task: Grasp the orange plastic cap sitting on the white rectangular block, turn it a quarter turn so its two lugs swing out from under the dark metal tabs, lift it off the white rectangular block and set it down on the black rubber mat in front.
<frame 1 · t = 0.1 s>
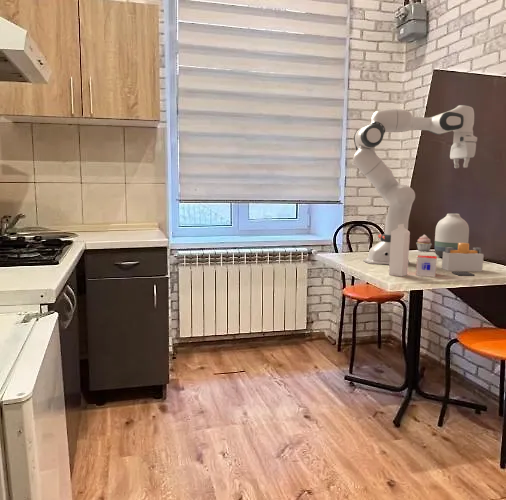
hand: (460, 167, 246), 48 cm above the table, tool pointing down, fingers open, 8 cm apart
white printed cube: (425, 275, 218), on the table
mat: (462, 274, 219), on the table
vase: (450, 258, 271), on the table
milk: (398, 275, 215), on the table
white rectangular block: (461, 269, 231), on the table
cap: (463, 252, 230), point 8 cm above the table, touching white rectangular block
cupcake: (423, 251, 299), on the table
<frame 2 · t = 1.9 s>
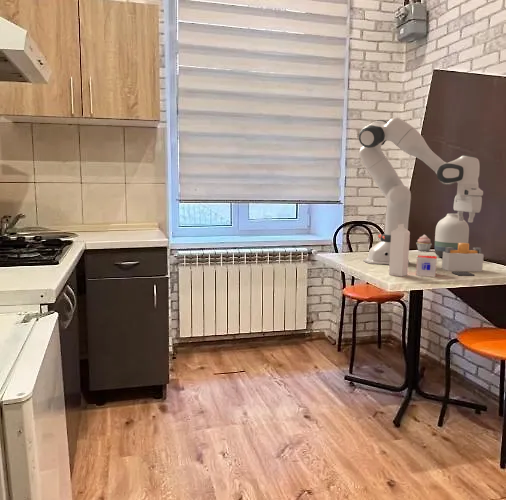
hand: (465, 221, 228), 23 cm above the table, tool pointing down, fingers open, 8 cm apart
nothing on the table moved.
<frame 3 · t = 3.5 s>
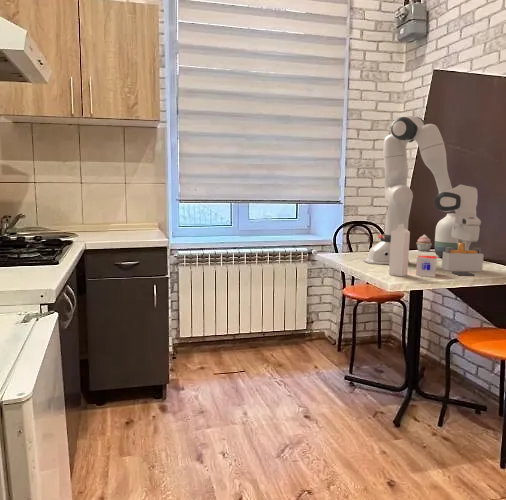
hand: (463, 249, 230), 10 cm above the table, tool pointing down, fingers closed on cap, 5 cm apart
cap: (463, 252, 230), point 8 cm above the table, touching gripper, white rectangular block
everything else where it was.
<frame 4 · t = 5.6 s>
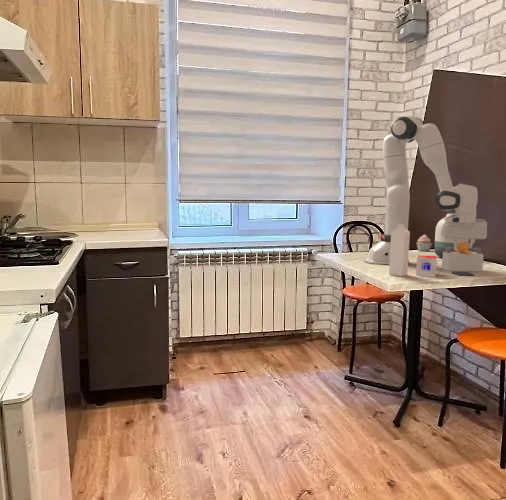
hand: (462, 248, 230), 10 cm above the table, tool pointing down, fingers closed on cap, 5 cm apart
cap: (462, 251, 230), point 8 cm above the table, touching gripper
everything else where it was.
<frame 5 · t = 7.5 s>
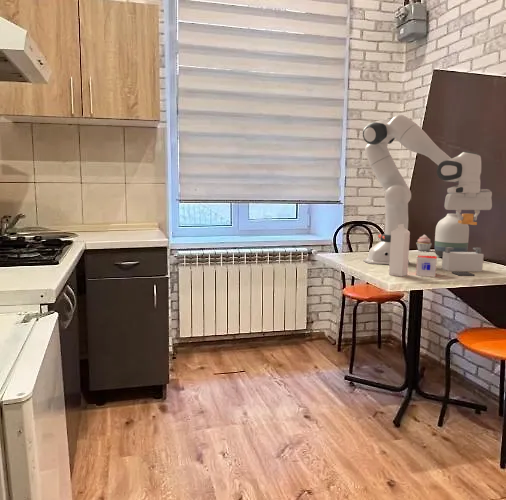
hand: (467, 220, 220), 24 cm above the table, tool pointing down, fingers closed on cap, 5 cm apart
cap: (467, 223, 221), point 22 cm above the table, touching gripper
everything else where it was.
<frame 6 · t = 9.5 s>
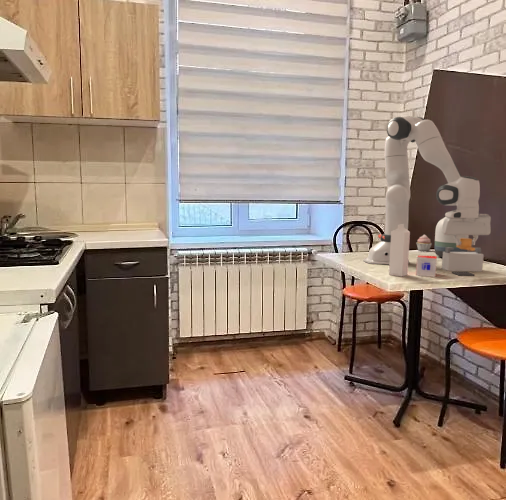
hand: (465, 245, 217), 13 cm above the table, tool pointing down, fingers closed on cap, 5 cm apart
cap: (465, 248, 218), point 11 cm above the table, touching gripper
everything else where it was.
when the fingers open (4 cm above the table, at t = 11.3 s): cap drops 1 cm, resting on mat.
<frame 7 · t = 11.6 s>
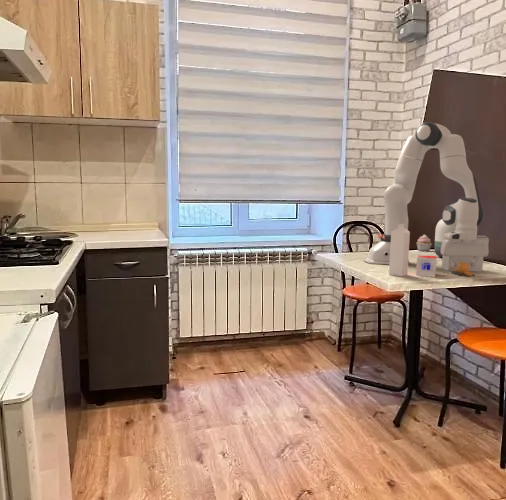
hand: (463, 266, 219), 4 cm above the table, tool pointing down, fingers open, 7 cm apart
cap: (463, 272, 219), point 1 cm above the table, touching mat
everything else where it was.
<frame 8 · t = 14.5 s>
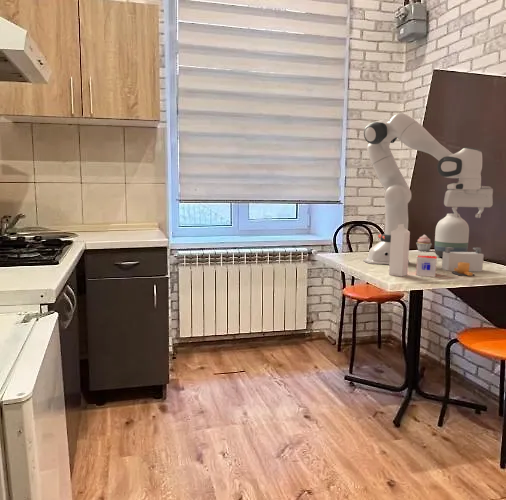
hand: (467, 217, 216), 25 cm above the table, tool pointing down, fingers open, 8 cm apart
nothing on the table moved.
at the end: cap inside the target area on the mat (0.1 cm from its centre), point 0.6 cm above the mat's base; the gripper is holding nothing; cap tilted 0° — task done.
